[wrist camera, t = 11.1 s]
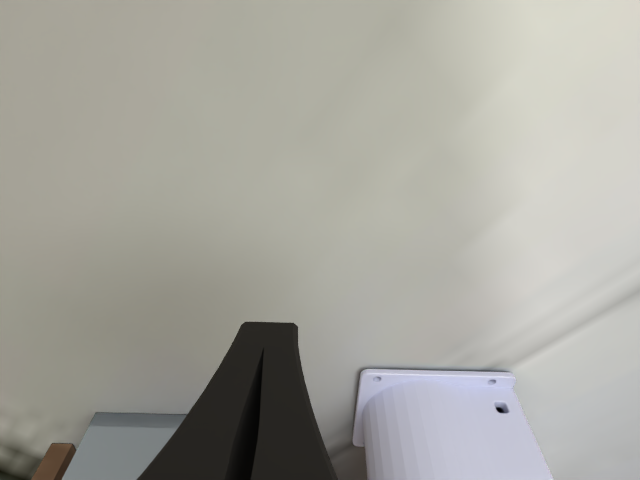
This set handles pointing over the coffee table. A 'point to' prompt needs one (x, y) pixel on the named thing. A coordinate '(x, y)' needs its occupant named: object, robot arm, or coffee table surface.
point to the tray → (121, 445)
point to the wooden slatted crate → (55, 462)
